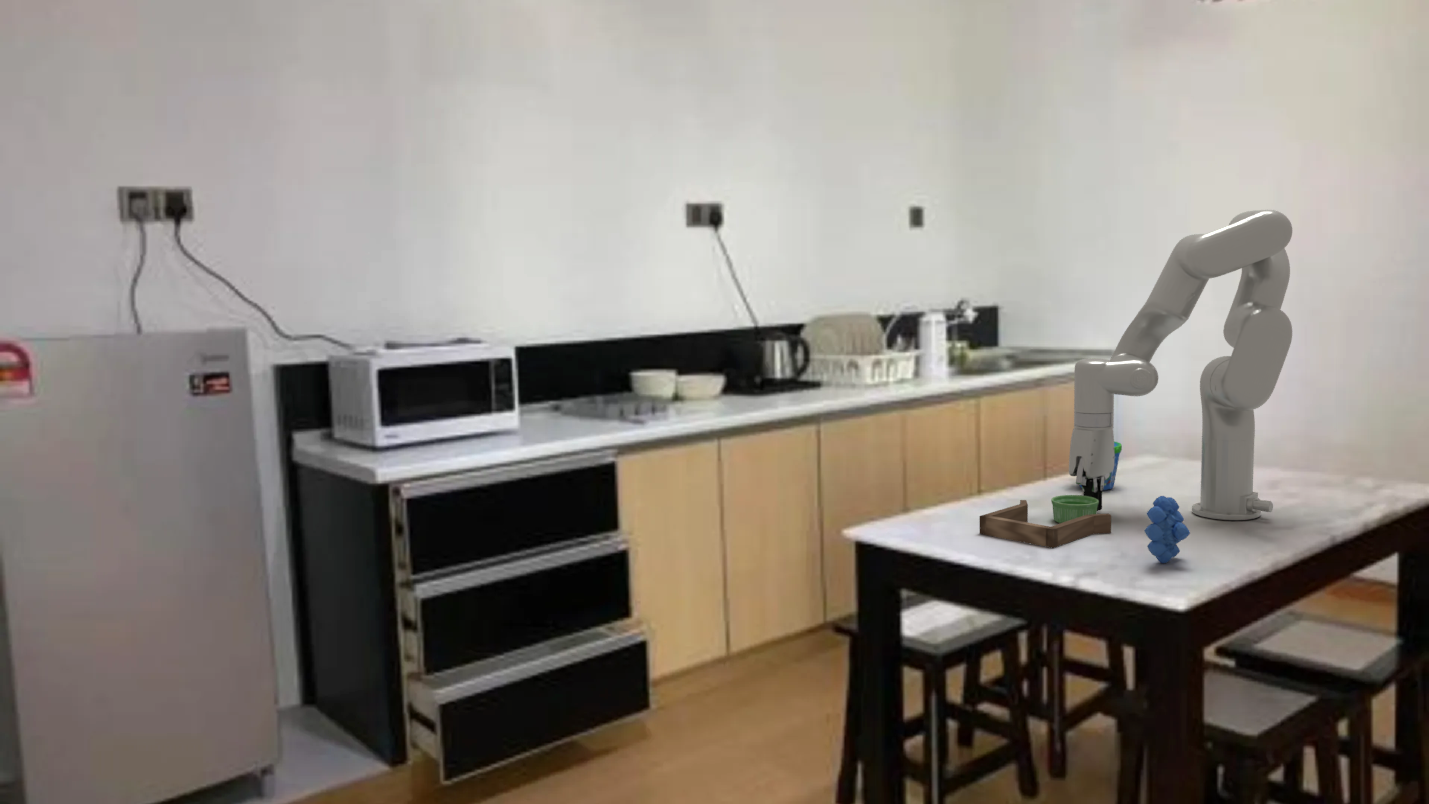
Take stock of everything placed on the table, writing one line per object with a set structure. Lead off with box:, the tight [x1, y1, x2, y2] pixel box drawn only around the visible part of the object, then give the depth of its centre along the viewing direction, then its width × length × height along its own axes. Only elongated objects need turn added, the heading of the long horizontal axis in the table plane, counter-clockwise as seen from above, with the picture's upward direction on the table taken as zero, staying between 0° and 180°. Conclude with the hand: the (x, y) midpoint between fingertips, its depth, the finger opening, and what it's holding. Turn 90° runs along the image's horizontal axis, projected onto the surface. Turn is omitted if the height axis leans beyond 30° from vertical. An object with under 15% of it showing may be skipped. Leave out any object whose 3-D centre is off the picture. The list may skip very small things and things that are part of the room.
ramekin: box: [1051, 494, 1099, 524], centre depth 226 cm, size 9×9×4 cm
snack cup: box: [1078, 440, 1123, 491], centre depth 255 cm, size 16×10×10 cm
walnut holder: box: [979, 499, 1112, 549], centre depth 218 cm, size 20×17×4 cm
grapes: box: [1144, 495, 1191, 564], centre depth 194 cm, size 12×7×12 cm, turn 136°
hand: (1092, 509), depth 230 cm, fingers closed
